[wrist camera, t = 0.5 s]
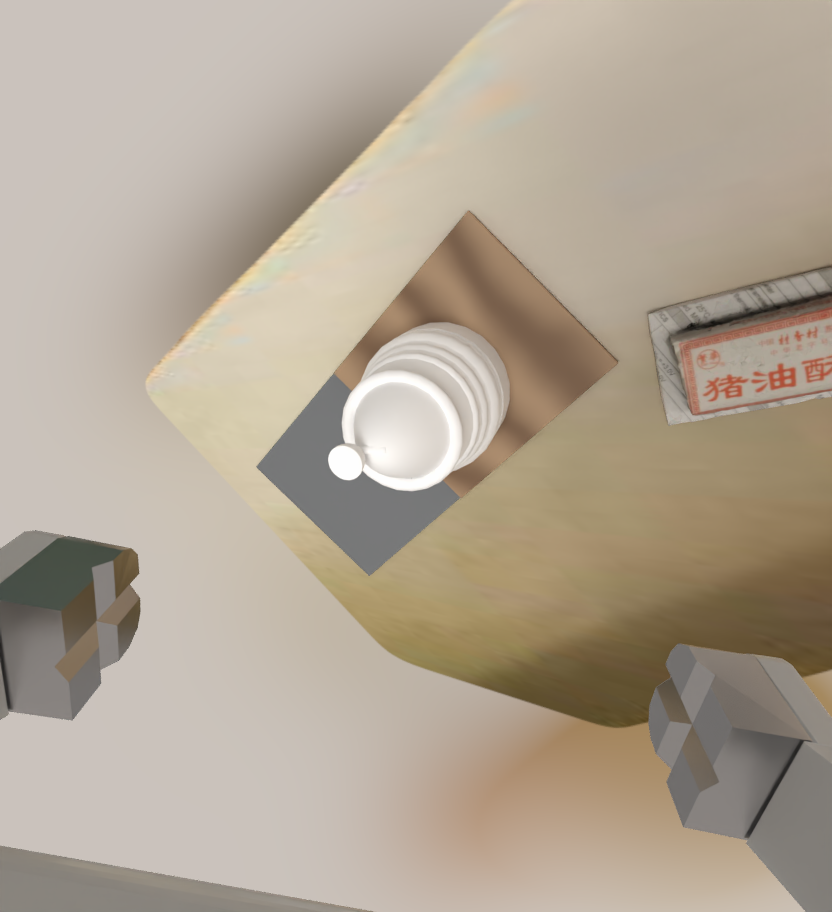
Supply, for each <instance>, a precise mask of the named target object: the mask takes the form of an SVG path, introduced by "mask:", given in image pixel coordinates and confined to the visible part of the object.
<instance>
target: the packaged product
mask: <svg viewBox="0 0 832 912" xmlns="http://www.w3.org/2000/svg"><path fill="white" fill-rule="evenodd" d="M648 321H649V331H650V336H651V340H652V344H653V348H654V353H655V358H656V367H657V375H658V380H659V386H660V392H661V397H662V402H663V405H664V409H665V413H666V417H667V421H668V425H673V424H678V423H684V422H693V421H699V420H704V419H709V418H713V417H718V416H724V415H730V414H736V413H742V412H748V411H754V410H760V409H765V408H771V407H776V406H783V405H789V404H794V403H800V402H803V401H806V400H809V399H812V398H817V399H821V398H826V397H832V267H829V268H824V269H819V270H815V271H810V272H807V273H802V274H798V275H794V276H790V277H785V278H781V279H777V280H772V281H768V282H763V283H759V284H755V285H751V286H747V287H743V288H739V289H735V290H731V291H727V292H723V293H719V294H715V295H711V296H707V297H703V298H699V299H696V300H692V301H688V302H684V303H680V304H676V305H672V306H669V307H666V308H663V309H661V310H658V311H655V312H652V313H650V314H648Z"/></svg>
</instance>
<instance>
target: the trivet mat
mask: <svg viewBox="0 0 832 912" xmlns="http://www.w3.org/2000/svg"><path fill="white" fill-rule="evenodd" d="M351 392H352V391H351V390H350V389H349V388H348V387H347V386H346V385H345V384H344V383H343V382H342V381H341V380H340V379H339V378H338V377H337V376H336V375H335V374H333V375H332V376H331V377H330V379H329V380H328V381H327V382H326V384H325V385H324V386H323V387H322V388H321V390H320V391H319V392H318V393H317V394H316V396H315V397H314V398H313V399H312V400H311V402H310V403H309V404H308V405H307V406H306V408H305V409H304V410H303V411H302V412H301V414H300V415H299V416H298V417H297V419H296V420H295V421H294V422H293V423H292V425H291V426H290V427H289V428H288V429H287V431H286V432H285V433H284V434H283V435H282V437H281V438H280V439H279V440H278V441H277V443H276V444H275V445H274V446H273V447H272V449H271V450H270V451H269V452H268V454H267V455H266V456H265V457H264V458H263V460H262V461H261V462H260V463H259V464H258V466H257V468H258V469H259V470H260V471H261V472H262V473H263V474H264V475H265V476H266V477H267V478H268V479H269V480H270V481H271V482H272V483H273V484H274V485H275V486H276V487H277V488H278V489H279V490H281V491H282V492H283V493H284V494H285V495H286V496H287V497H288V498H289V499H290V500H291V501H292V502H293V503H294V504H295V505H296V506H297V507H298V508H299V509H300V510H301V511H302V512H303V513H304V514H305V515H306V516H308V517H309V518H310V519H311V520H312V521H313V522H314V523H315V524H316V525H317V526H318V527H319V528H320V529H321V530H322V531H323V532H324V533H325V534H326V535H327V536H328V537H329V538H330V539H331V540H332V541H333V542H335V543H336V544H337V545H338V546H339V547H340V548H341V549H342V550H343V551H344V552H345V553H346V554H347V555H348V556H349V557H350V558H351V559H352V560H353V561H354V562H355V563H356V564H357V565H358V566H359V567H360V568H362V569H363V570H364V571H365V572H366V573H367V574H368V575H369V576H370V575H371V574H372V573H373V572H374V571H376V570H377V569H378V568H379V567H380V566H381V565H383V564H384V563H385V562H386V561H387V560H388V559H390V558H391V557H392V556H393V555H394V554H395V553H396V552H398V551H399V550H400V549H401V548H402V547H403V546H405V545H406V544H407V543H408V542H409V541H410V540H412V539H413V538H414V537H415V536H416V535H417V534H419V533H420V532H421V531H422V530H423V529H424V528H425V527H427V526H428V525H429V524H430V523H431V522H432V521H434V520H435V519H436V518H437V517H438V516H439V515H441V514H442V513H443V512H444V511H445V510H446V509H448V508H449V507H450V506H451V505H452V504H453V503H454V502H456V501H457V500H458V499H459V498H460V497H459V496H458V495H457V494H456V493H455V492H454V491H453V490H452V489H451V488H450V487H449V486H448V485H447V484H446V483H445V482H444V481H443V480H442V481H441V482H439V483H437V484H435V485H433V486H431V487H429V488H427V489H422V490H417V491H402V490H395V489H392V488H389V487H386V486H383V485H381V484H380V483H378V482H376V481H375V480H373V479H371V478H370V477H368V476H367V475H366V474H365V473H364V472H363V471H362V472H361V474H360V475H359V476H358V477H357V478H355V479H353V480H343V479H341V478H339V477H337V476H336V475H335V474H334V473H333V472H332V470H331V469H330V466H329V463H328V457H329V454H330V452H331V450H332V449H334V448H335V447H337V446H338V445H341V444H345V441H344V438H343V431H342V416H343V409H344V406H345V404H346V401H347V399H348V397H349V394H350V393H351ZM411 479H412V478H411Z"/></svg>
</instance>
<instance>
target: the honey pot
mask: <svg viewBox="0 0 832 912" xmlns="http://www.w3.org/2000/svg"><path fill="white" fill-rule="evenodd" d="M509 401H510V383H509V379H508V376H507V372H506V368H505V365H504V363H503V362H502V360H501V358H500V357H499V355H498V353H497V352H496V350H495V349H494V348H493V347H492V346H491V345H490V344H489V343H488V342H487V341H486V340H485V339H484V338H483V337H482V336H481V335H479V334H477V333H475V332H474V331H472V330H470V329H468V328H467V327H464V326H460V325H456V324H453V323H449V322H439V323H428V324H424V325H421V326H418V327H415V328H413V329H411V330H409V331H407V332H405V333H403V334H402V335H400V336H398V337H396V338H395V339H393V340H392V341H390V342H389V343H387V344H386V345H384V346H382V347H381V348H380V349H379V351H378V352H377V353H376V354H375V355H374V357H373V358H372V359H371V360H370V361H369V363H368V365H367V367H366V370H365V372H364V374H363V376H362V379H361V382H359V384H358V385H357V386H356V387H355V388H354V389H353V391H352V392H351V393H350V394H349V397H348V399H347V401H346V404H345V406H344V409H343V416H342V431H343V438H344V441H345V444H341V445H338V446H337V447H335V448H334V449H332V450H331V452H330V454H329V457H328V463H329V466H330V469H331V470H332V472H333V473H334V474H335V475H336V476H337V477H339V478H341V479H343V480H353V479H355V478H357V477H358V476H359V475H360V474H361V472H362V471H363V472H364V473H365V474H366V475H367V476H368V477H370V478H371V479H373V480H375V481H376V482H378V483H380V484H381V485H383V486H386V487H389V488H392V489H395V490H402V491H417V490H422V489H427V488H429V487H431V486H433V485H435V484H437V483H439V482H441V481H442V480H443V479H444V478H445V477H447V476H448V475H449V474H450V473H451V472H452V471H456V470H458V469H460V468H462V467H464V466H466V465H468V464H470V463H471V462H473V461H474V460H475V459H476V458H477V457H479V456H480V455H481V454H482V453H483V452H484V451H485V450H486V449H487V447H488V446H489V444H490V442H491V441H492V439H493V437H494V436H495V434H496V432H497V430H498V429H499V427H500V425H501V424H502V422H503V420H504V418H505V416H506V412H507V409H508V405H509ZM411 478H412V479H411Z"/></svg>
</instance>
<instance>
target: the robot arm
mask: <svg viewBox="0 0 832 912" xmlns="http://www.w3.org/2000/svg"><path fill="white" fill-rule="evenodd" d="M138 574H139V566H138V555H137V554H136V552H135V551H133V549H131V548H127V547H122V546H117V545H111V544H106V543H101V542H96V541H91V540H86V539H81V538H76V537H70V536H67V537H66V536H64V535H59V534H53V533H47V532H42V531H36V530H35V531H27V532H24V533H22V534H21V535H19V536H18V537H16V538H15V539H13V540H12V541H11V542H9V543H8V544H6V545H5V546H4V547H2V548H1V549H0V720H1V719H2V718H4V717H6V716H7V715H8V714H9V712H8V711H10V712H17V713H25V714H32V715H38V716H45V717H52V718H60V719H66V720H73V719H74V718H75V716H76V715H77V714H78V712H79V711H80V710H81V709H82V707H83V706H84V705H85V704H86V702H87V701H88V700H89V698H90V697H91V696H92V694H93V693H94V692H95V691H96V689H97V688H98V687H99V686H100V684H101V673H100V670H101V669H103V668H105V667H107V666H109V665H111V664H113V663H115V662H117V661H119V660H120V658H121V657H122V656H123V654H124V653H125V652H126V650H127V649H128V648H129V646H130V644H131V642H132V639H133V637H134V635H135V632H136V630H137V628H138V622H139V616H140V597H139V596H138V595H137V594H136V592H135V591H134V589H133V588H132V587H131V585H130V583H131V582H132V581H133V580H134V579H135V577H136V576H137V575H138ZM666 666H667V669H668V671H669V674H670V676H671V678H670V679H668V680H667V681H665V682H664V683H662V684H660V685H659V686H657V687H656V689H655V692H654V695H653V697H652V700H651V703H650V710H649V730H650V736H651V741H652V743H653V746H654V749H655V752H656V754H657V755H658V756H659V757H660V758H661V759H662V760H663V761H664V762H665V763H666V764H667V765H668V766H669V767H670V768H671V769H672V770H671V773H670V775H669V778H668V780H667V785H668V788H669V790H670V793H671V796H672V798H673V801H674V803H675V806H676V809H677V811H678V814H679V817H680V820H681V822H682V825H683V827H685V828H691V829H695V830H700V831H705V832H710V833H715V834H720V835H725V836H729V837H734V838H739V839H744V840H748V841H747V845H748V846H749V847H750V848H751V849H752V850H753V852H754V853H755V854H756V855H757V856H758V857H759V859H760V860H761V861H762V862H763V863H764V864H765V865H766V866H767V868H768V869H769V870H770V871H771V872H772V873H773V875H774V876H775V877H776V878H777V879H778V880H779V882H780V883H781V884H782V885H783V886H784V887H785V888H786V890H787V891H788V892H789V893H790V894H791V895H792V896H793V898H794V899H795V900H796V901H797V902H798V903H799V904H800V906H801V907H802V908H803V909H804V910H805V911H806V912H832V718H831V716H830V715H829V714H828V712H827V711H826V710H825V708H824V707H823V706H822V704H821V703H820V702H819V700H818V699H817V698H816V696H815V695H814V694H813V692H812V691H811V690H810V688H809V687H808V686H807V684H806V683H805V682H804V680H803V679H802V678H801V676H800V675H799V674H798V672H797V671H796V670H795V668H794V667H793V666H792V665H791V664H790V663H788V662H786V661H785V660H783V659H782V658H775V657H768V656H761V655H754V654H740V653H734V652H728V651H722V650H716V649H710V648H704V647H697V646H691V645H685V644H679V643H678V644H677V646H676V647H675V648H674V649H673V650H672V651H671V653H670V655H669V658H668V660H667V662H666ZM0 912H373V911H367V910H362V909H356V908H350V907H344V906H339V905H334V904H328V903H322V902H317V901H311V900H305V899H299V898H294V897H288V896H282V895H277V894H271V893H266V892H260V891H254V890H249V889H243V888H237V887H232V886H226V885H221V884H215V883H209V882H204V881H198V880H192V879H187V878H180V877H175V876H170V875H164V874H158V873H153V872H147V871H141V870H135V869H130V868H124V867H118V866H113V865H107V864H101V863H95V862H90V861H84V860H79V859H73V858H67V857H62V856H56V855H50V854H45V853H39V852H32V851H27V850H22V849H16V848H11V847H5V846H0Z"/></svg>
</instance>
